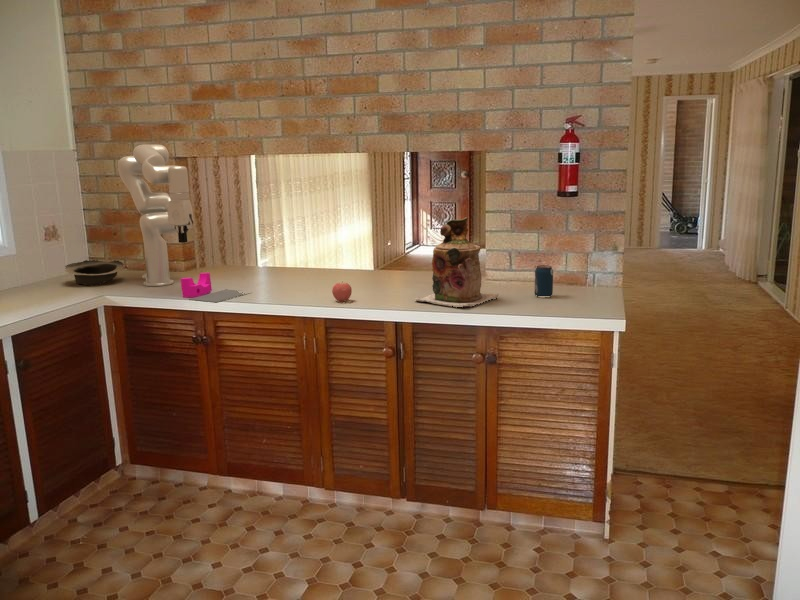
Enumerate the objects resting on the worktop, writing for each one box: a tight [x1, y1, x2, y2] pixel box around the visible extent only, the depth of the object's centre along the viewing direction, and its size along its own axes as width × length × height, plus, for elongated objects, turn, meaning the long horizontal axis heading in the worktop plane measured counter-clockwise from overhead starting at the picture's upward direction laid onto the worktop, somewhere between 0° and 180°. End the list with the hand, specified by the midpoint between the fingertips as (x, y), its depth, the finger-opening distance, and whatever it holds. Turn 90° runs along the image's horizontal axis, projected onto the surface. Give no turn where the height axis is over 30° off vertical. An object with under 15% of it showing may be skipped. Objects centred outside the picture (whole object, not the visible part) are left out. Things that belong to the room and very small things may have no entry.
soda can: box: [534, 264, 554, 297], centre depth 272 cm, size 7×7×12 cm
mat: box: [188, 288, 245, 303], centre depth 283 cm, size 14×22×1 cm, turn 153°
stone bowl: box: [64, 259, 124, 286], centre depth 317 cm, size 25×25×9 cm
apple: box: [331, 280, 352, 303], centre depth 269 cm, size 7×7×8 cm
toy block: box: [180, 272, 213, 298], centre depth 287 cm, size 15×6×8 cm, turn 162°
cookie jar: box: [414, 217, 500, 308], centre depth 265 cm, size 25×25×32 cm
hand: (183, 242), depth 287 cm, fingers closed
